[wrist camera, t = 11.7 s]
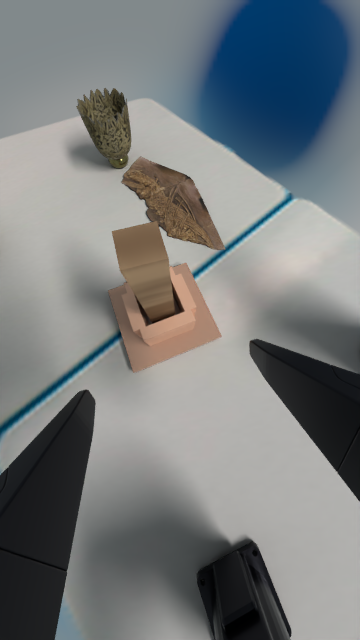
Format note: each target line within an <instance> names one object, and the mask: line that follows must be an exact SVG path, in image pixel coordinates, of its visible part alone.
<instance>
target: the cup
mask: <svg viewBox="0 0 360 640" xmlns="http://www.w3.org/2000/svg"><path fill="white" fill-rule="evenodd" d="M104 95H105V98H104V96H103V95H102V93H101V92H100V91H99V90H98V89H96V91H95V94H94V93H93V91H92V90H91V92H90V101H89V99H88V98H87V97H86V96H85V95H84V101H82V100H79V99H78V106H77V109H78V111H79V113H80V115H81V118H82V120H83V122H84V124H85V126H86V128H87V130H88V132H89V134H90V136H91V138H92V140H93V142H94V144H95V146H96V147H97V149H98V150H99V152H100V153H101V154H102V155H103V156H105V157H106V158H108V160H109V162H110V164H111V165H112V166H113V167H115V168H122V167H125V166H126V165H127V163H128V155H127V154H128V152H129V150H130V147H131V130H130V122H129V114H128V107H127V100H126V103H125V100H124V95H123V93H122V92H121V94H119V92H118V91H117V90H116V89H113V90H112V92H111V94H110V95H109V91H108V90H107V89H106V88H104Z"/></svg>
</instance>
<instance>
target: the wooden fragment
mask: <svg viewBox="0 0 360 640" xmlns="http://www.w3.org/2000/svg"><path fill="white" fill-rule="evenodd" d="M122 184H125V185H126V186H129V188H130V189H131V190H134V191H135V192H136V193H137V195H138V196H139V198H140V199H145V200H146V204H147V206H148V207H149V209H148V210H147V215H148V217H149V218H150V220H151V221H154V222H155V221H157V223H158V225H160V226H161V227H163V229H164V230H166V232H167V235H168V236H170V237H173V238H177V239H180V240H183V241H190V242H194V243H199V244H203V245H207V246H208V247H209V248H211V249H217V250H223V249H225V247H224V245H223V243H222V241H221V239H220V236H219V234H218V232H217V230H216V228H215V226H214V224H213V222H212V220H211V217H210V215H209V213H208V210H207V208H206V206H205V204H204V202H203V199H202V197H201V196H200V194H199V192H198V189H197V188H196V187H195V184H194V182H193V180H192V179H191V178H190V177H188V176H187V175H185V174H183V173H180V172H177V171H175V170H172V169H169V168H167V167H164V166H162V165H159V164H157V163H154V162H152V161H149V160H147V159H145V158H143V157H141V156H140V157H139V158H138V159H137V160H136V161H135V162H134V163H133V165H132V166H131V167H130V169H129V170H128V171H127V172H126V173H125V174H124V179H123V181H122Z"/></svg>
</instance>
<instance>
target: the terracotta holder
mask: <svg viewBox="0 0 360 640" xmlns="http://www.w3.org/2000/svg"><path fill="white" fill-rule="evenodd" d="M169 268H170V276H171V284H172V292H173V301H174V309H175V316H172V317H169V318H167V319H164V320H162V321H159V322H156V323H154V324H153V323H152V321H151V320H150V318H149V317H148V315H147V313H146V312H145V310H144V308H143V307H142V305H141V304H140V302H139V300H138V299H137V297H136V295H135V294H134V292H133V291H132V289H131V287H130V286H129V284H128V283H127V282H125V283H124V285H122V286H119V287H117V288H114V289H111V290H108V293H109V296H110V299H111V302H112V305H113V309H114V312H115V315H116V318H117V321H118V325H119V328H120V331H121V334H122V338H123V341H124V344H125V347H126V350H127V354H128V357H129V360H130V363H131V366H132V370H133V373H136V372H139V371H141V370H144V369H146V368H148V367H151V366H153V365H156V364H158V363H161V362H163V361H165V360H168V359H170V358H173V357H175V356H178V355H180V354H182V353H185V352H187V351H190V350H192V349H195V348H197V347H199V346H202V345H204V344H207V343H209V342H211V341H214V340H216V339H219V338H221V337H222V336H221V334H220V332H219V330H218V327H217V325H216V323H215V321H214V319H213V317H212V315H211V313H210V311H209V309H208V307H207V305H206V303H205V301H204V298H203V296H202V294H201V292H200V290H199V288H198V286H197V284H196V282H195V280H194V278H193V276H192V274H191V272H190V269H189V267H188V265H187V263H184V264H181V265H178V266H175V267H172V266H170V267H169Z"/></svg>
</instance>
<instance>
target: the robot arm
mask: <svg viewBox="0 0 360 640" xmlns="http://www.w3.org/2000/svg"><path fill="white" fill-rule="evenodd" d="M250 355H251V357H252V359H253V360H254V362H255V364H256V365H257V367H258V368H259V370H260V372H261V373H262V375H263V377H264V378H265V380H266V381H267V382H268V384H269V385H270V386H271V387H272V389H273V390H274V391H275V393H276V394H277V395H278V397H279V398H280V399H281V400H282V402H283V403H284V404H285V406H286V407H287V408H288V409H289V411H290V412H291V413H292V415H293V416H294V417H295V418H296V420H297V421H298V422H299V424H300V425H301V426H302V428H303V429H304V430H305V431H306V433H307V434H308V435H309V437H310V438H311V439H312V440H313V442H314V443H315V444H316V446H317V447H318V448H319V449H320V451H321V452H322V453H323V455H324V456H325V457H326V458H327V460H328V461H329V462H330V464H331V465H332V466H333V468H334V469H335V470H336V471H337V472H338V474H339V475H340V477H341V478H342V479H343V481H344V482H345V483H346V484H347V486H348V487H349V488H350V490H351V491H352V492H353V494H354V495H355V496H356V497H357V499H358V500H359V501H360V374H357V373H354V372H351V371H348V370H345V369H342V368H339V367H336V366H333V365H330V364H327V363H325V362H322V361H319V360H316V359H313V358H310V357H308V356H305V355H302V354H299V353H296V352H293V351H291V350H288V349H285V348H282V347H279V346H276V345H273V344H271V343H268V342H265V341H262V340H259V339H254V340H251V341H250ZM94 416H95V399H94V398H93V396H92V395H91V393H90V392H89V390H83V391H79V392H78V393H77V394H76V395H75V396H74V397H73V398H72V399H71V400H70V401H69V402H68V404H67V405H66V406H65V407H64V408H63V409H62V410H61V411H60V412H59V413H58V414H57V415H56V416H55V417H54V418H53V420H52V421H51V422H50V423H49V424H48V425H47V426H46V427H45V428H44V429H43V430H42V431H41V432H40V433H39V434H38V436H37V437H36V438H35V439H34V440H33V441H32V442H31V443H30V444H29V445H28V446H27V447H26V448H25V449H24V450H23V451H22V453H21V454H20V455H19V456H18V457H17V458H16V459H15V460H14V461H13V462H12V463H11V464H10V465H9V468H7V469H6V470H5V471H4V472H3V473H2V474H1V475H0V640H55V634H56V629H57V624H58V619H59V613H60V608H61V603H62V597H63V592H64V587H65V581H66V576H67V569H68V564H69V559H70V554H71V548H72V543H73V538H74V532H75V527H76V522H77V516H78V511H79V506H80V500H81V495H82V490H83V484H84V479H85V474H86V468H87V463H88V458H89V452H90V447H91V442H92V436H93V428H94ZM254 549H255V550H256V551H255V552H252V551H253V550H254ZM202 578H204V581H201V579H202ZM197 583H198V587H199V590H200V593H201V597H202V600H203V603H204V606H205V609H206V613H207V616H208V619H209V622H210V626H211V629H212V632H213V635H214V639H215V640H291V639H290V637H291V628H290V626H289V623H288V621H287V618H286V616H285V613H284V611H283V608H282V606H281V603H280V601H279V598H278V596H277V593H276V591H275V588H274V586H273V583H272V581H271V578H270V576H269V573H268V571H267V568H266V566H265V563H264V561H263V558H262V556H261V553H260V551H259V548H258V546H257V544H256V543H254V542H251V543H249V544H247V545H245V546H244V547H242V548H240V549H238V550H236V551H234V552H233V553H231V554H229V555H227V556H225V557H223V558H222V559H220V560H218V561H216V562H215V563H213V564H211V565H209V566H207V567H205V568H204V569H202V570H200V571H199V572H198V574H197Z"/></svg>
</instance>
